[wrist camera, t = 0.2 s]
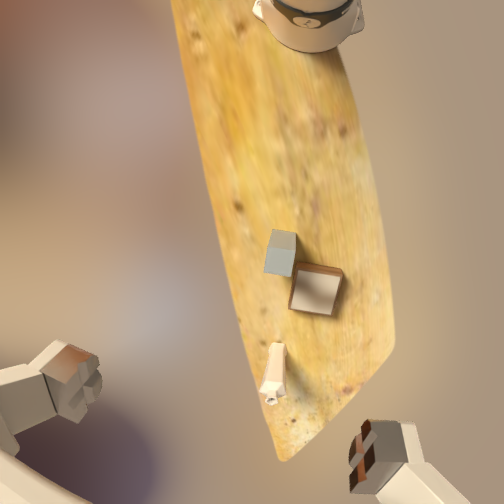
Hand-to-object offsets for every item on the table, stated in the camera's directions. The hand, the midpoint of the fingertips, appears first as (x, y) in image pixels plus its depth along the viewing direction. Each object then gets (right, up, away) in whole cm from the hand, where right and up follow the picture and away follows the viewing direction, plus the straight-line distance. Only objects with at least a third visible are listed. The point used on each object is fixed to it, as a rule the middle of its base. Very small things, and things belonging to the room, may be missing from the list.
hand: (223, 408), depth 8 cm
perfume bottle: (+6, -15, +55) cm, 57 cm away
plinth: (+12, -2, +49) cm, 51 cm away
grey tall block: (+6, +6, +48) cm, 48 cm away
